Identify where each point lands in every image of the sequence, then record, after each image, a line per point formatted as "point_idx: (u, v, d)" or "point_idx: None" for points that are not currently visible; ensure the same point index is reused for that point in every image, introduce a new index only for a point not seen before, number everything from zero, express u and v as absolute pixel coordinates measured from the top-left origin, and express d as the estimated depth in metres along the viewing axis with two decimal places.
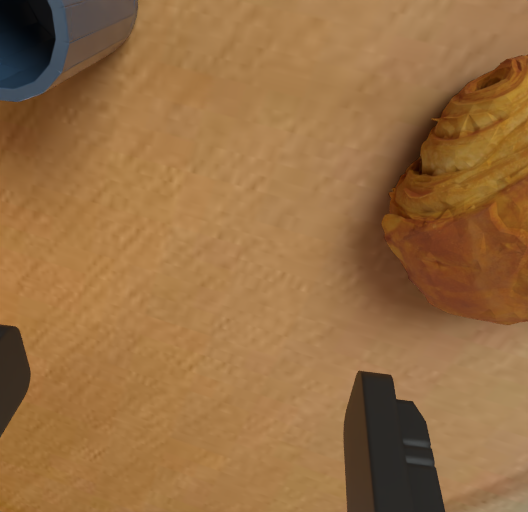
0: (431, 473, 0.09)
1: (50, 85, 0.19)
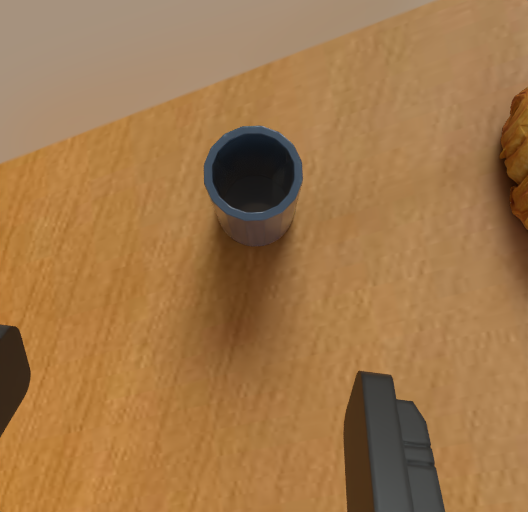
0: (431, 473, 0.09)
1: (298, 191, 0.29)
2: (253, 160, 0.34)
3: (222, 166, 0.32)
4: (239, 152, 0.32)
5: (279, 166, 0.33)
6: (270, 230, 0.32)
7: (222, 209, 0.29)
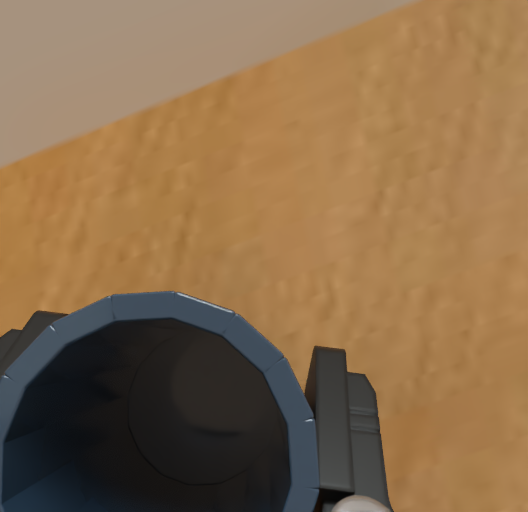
0: (375, 438, 0.10)
1: None
2: (183, 328, 0.13)
3: (83, 376, 0.11)
4: (131, 335, 0.11)
5: None
6: None
7: None
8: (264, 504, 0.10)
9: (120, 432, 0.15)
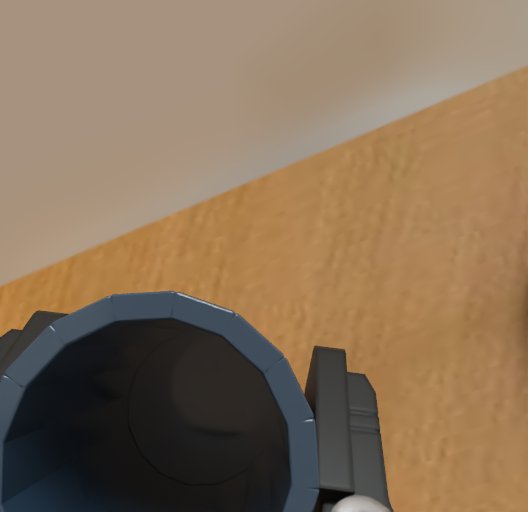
0: (375, 438, 0.10)
1: None
2: (183, 328, 0.13)
3: (83, 376, 0.11)
4: (131, 335, 0.11)
5: None
6: None
7: None
8: (264, 504, 0.10)
9: (120, 432, 0.15)
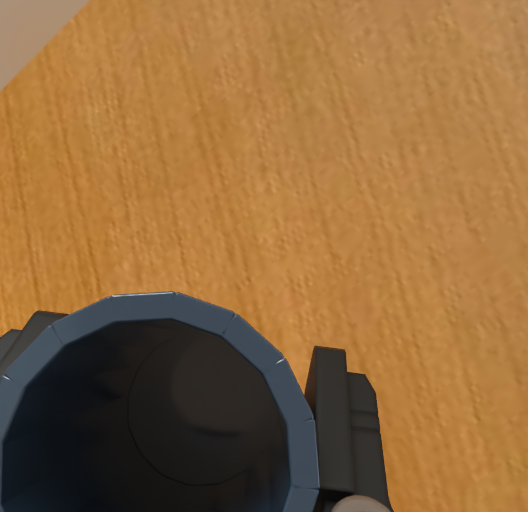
0: (375, 438, 0.10)
1: None
2: (183, 328, 0.13)
3: (83, 376, 0.11)
4: (131, 335, 0.11)
5: None
6: None
7: None
8: (264, 505, 0.10)
9: (120, 432, 0.15)
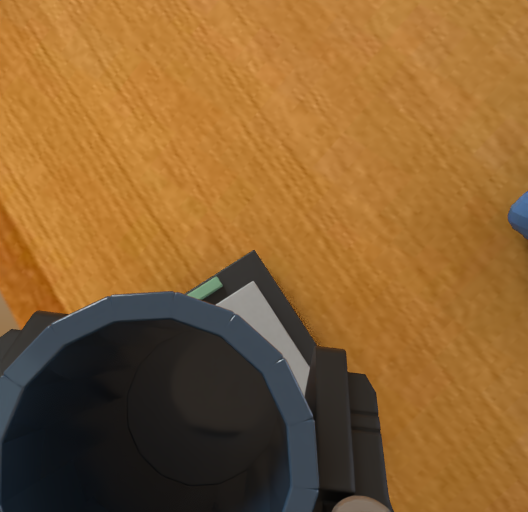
0: (376, 439, 0.10)
1: None
2: (183, 328, 0.13)
3: (83, 376, 0.11)
4: (130, 335, 0.11)
5: None
6: None
7: None
8: (263, 505, 0.10)
9: (120, 432, 0.15)
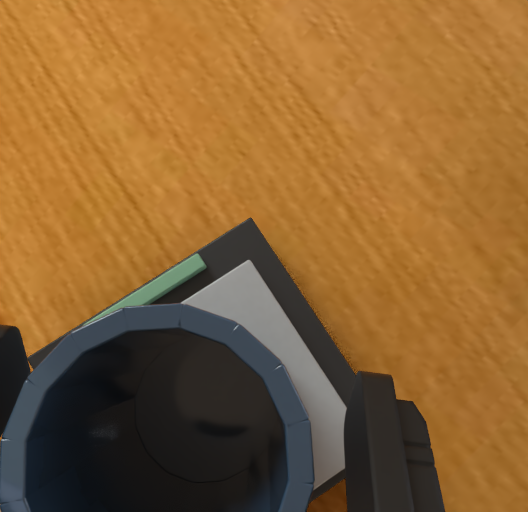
0: (431, 473, 0.09)
1: None
2: (188, 334, 0.14)
3: (96, 380, 0.12)
4: (140, 341, 0.12)
5: None
6: None
7: None
8: (264, 499, 0.11)
9: (128, 432, 0.16)
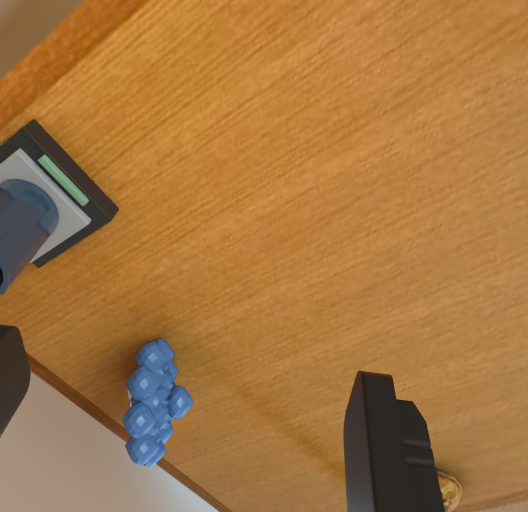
0: (431, 473, 0.09)
1: None
2: None
3: None
4: None
5: None
6: None
7: None
8: None
9: None
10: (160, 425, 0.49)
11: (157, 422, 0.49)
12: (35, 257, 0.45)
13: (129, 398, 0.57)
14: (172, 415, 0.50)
